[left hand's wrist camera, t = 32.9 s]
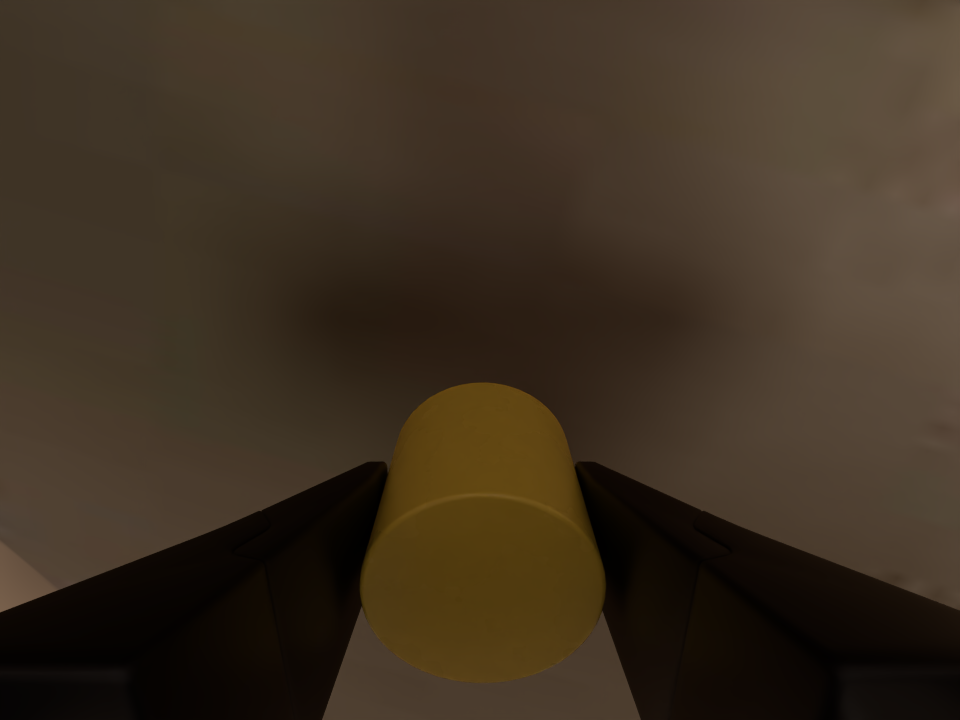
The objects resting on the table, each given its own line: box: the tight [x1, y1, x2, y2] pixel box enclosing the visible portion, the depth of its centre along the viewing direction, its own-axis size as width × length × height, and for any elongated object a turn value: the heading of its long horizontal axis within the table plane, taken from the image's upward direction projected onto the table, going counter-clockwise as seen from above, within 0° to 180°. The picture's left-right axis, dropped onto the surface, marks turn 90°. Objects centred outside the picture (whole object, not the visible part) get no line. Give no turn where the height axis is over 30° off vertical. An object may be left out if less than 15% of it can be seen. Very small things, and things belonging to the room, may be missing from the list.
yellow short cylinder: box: [359, 382, 606, 683], centre depth 11 cm, size 4×4×4 cm
